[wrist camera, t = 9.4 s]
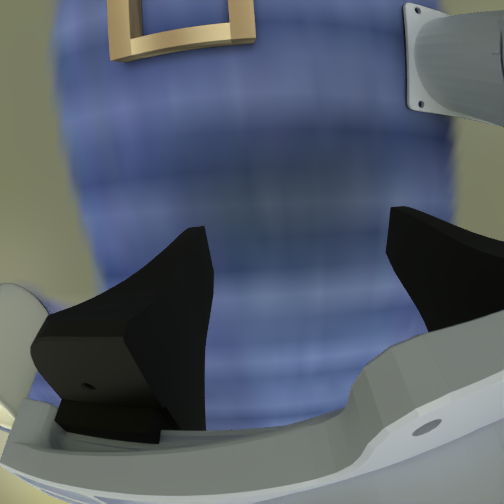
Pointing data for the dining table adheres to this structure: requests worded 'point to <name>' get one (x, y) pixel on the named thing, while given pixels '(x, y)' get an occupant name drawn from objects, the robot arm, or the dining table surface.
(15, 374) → the candle holder
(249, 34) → the tan frame
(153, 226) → the dining table surface
